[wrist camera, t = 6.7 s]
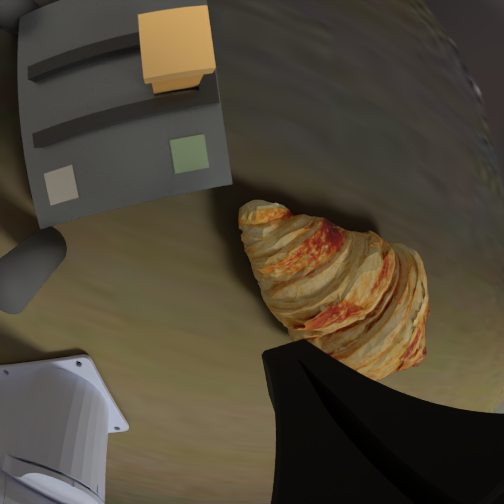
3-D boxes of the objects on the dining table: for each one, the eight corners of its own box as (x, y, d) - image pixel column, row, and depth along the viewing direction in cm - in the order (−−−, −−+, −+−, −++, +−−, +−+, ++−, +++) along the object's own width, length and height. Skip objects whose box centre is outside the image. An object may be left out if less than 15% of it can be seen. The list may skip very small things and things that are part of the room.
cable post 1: (6, 40, 10) (-41, 10, 5) (9, 11, 9) (-32, -23, 4) (38, 25, 11) (-3, -13, 5) (40, -4, 10) (5, -46, 4)
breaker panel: (56, 218, 15) (34, 233, 12) (35, 30, 11) (14, 11, 8) (223, 179, 17) (236, 185, 14) (197, -10, 13) (204, -37, 10)
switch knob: (150, 99, 12) (143, 78, 8) (144, 49, 11) (137, 14, 7) (202, 90, 12) (215, 67, 9) (196, 40, 12) (207, 5, 8)
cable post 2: (39, 269, 15) (-2, 317, 10) (27, 232, 15) (-22, 268, 9) (71, 261, 16) (36, 309, 10) (60, 222, 15) (16, 257, 10)
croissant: (199, 228, 21) (168, 319, 15) (307, 122, 16) (327, 186, 10) (371, 349, 29) (381, 419, 23) (455, 300, 24) (483, 371, 18)
